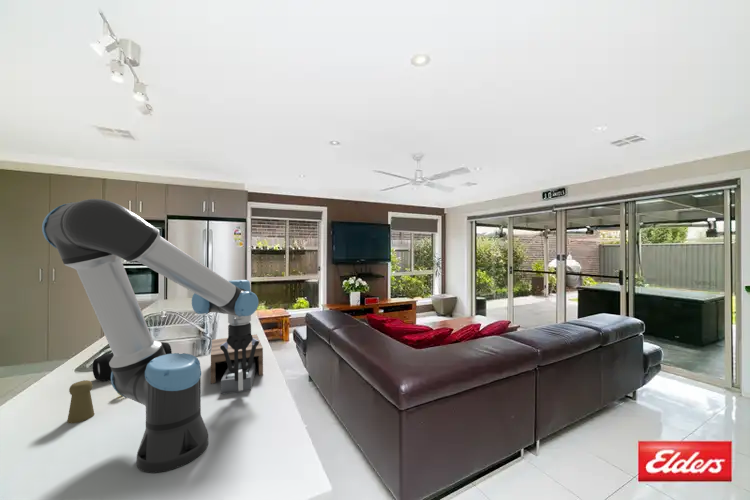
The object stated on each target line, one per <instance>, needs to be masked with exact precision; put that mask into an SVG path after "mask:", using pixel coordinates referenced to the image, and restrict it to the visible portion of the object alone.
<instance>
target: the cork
mask: <svg viewBox="0 0 750 500" xmlns="http://www.w3.org/2000/svg"><path fill="white" fill-rule="evenodd" d="M93 386H94V385H93V382H92V381H91V380H86V379H85V380H80V381H76V382H75V383H72V384H71V385H70V387H69V390H68V392H69V394H70V396H71V398H70V403H69V408H68V409H69V411H68V414H67V423H68V424H77V423H78V424H79V423H82V422H84V421H87V420H88V421H89V419H91V418H93V417H94V416H95V411H94V410H95V409H94V405H93V399H92V394H91V393H92V392H91V391H92V389H93Z"/></svg>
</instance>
